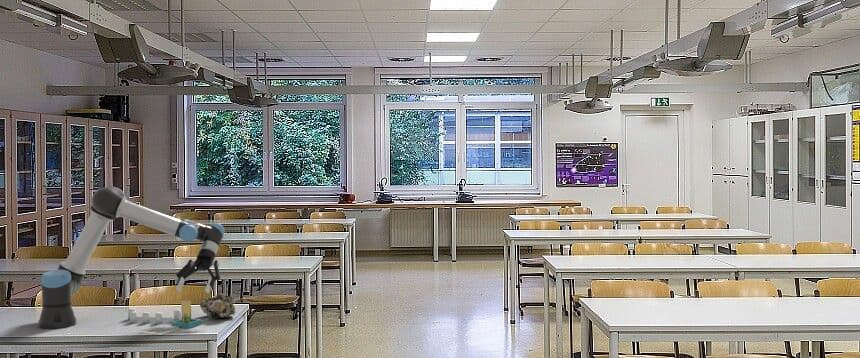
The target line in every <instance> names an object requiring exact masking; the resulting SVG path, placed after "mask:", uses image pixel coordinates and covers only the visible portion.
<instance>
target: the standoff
mask: <svg viewBox="0 0 860 358" xmlns="http://www.w3.org/2000/svg"><path fill="white" fill-rule="evenodd" d="M180 302H181V303H180V305H181V307H180V308H181V309H180V310H181V318H182V323H190V322H191V319H192V300H189V299H188V300H187V299H186V300H181V301H180Z"/></svg>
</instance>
